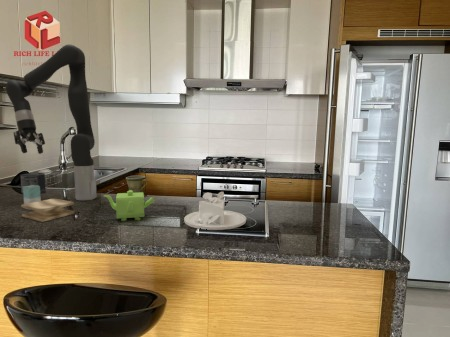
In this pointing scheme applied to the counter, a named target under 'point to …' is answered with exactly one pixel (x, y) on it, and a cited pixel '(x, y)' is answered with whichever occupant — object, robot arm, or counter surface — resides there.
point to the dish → (214, 215)
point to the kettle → (129, 205)
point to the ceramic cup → (136, 183)
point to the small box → (33, 181)
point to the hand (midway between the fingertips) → (33, 153)
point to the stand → (47, 209)
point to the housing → (31, 194)
